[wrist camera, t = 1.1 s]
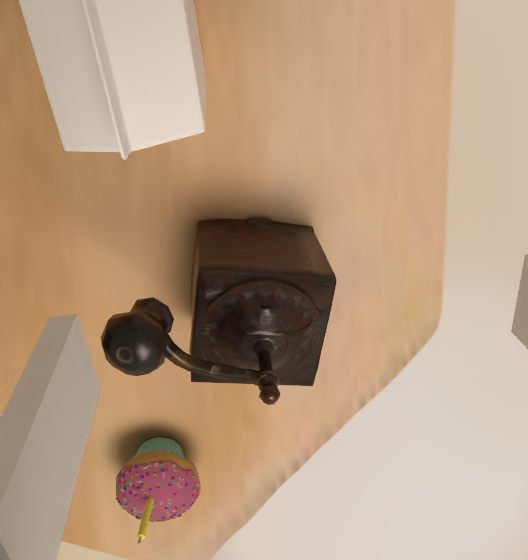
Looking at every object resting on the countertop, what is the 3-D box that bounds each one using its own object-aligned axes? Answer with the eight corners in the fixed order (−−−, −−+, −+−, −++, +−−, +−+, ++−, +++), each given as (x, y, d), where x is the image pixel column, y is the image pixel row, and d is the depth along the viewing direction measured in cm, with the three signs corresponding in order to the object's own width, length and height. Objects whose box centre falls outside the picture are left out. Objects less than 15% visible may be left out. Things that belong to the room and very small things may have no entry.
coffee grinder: (318, 219, 44) (380, 337, 28) (298, 325, 49) (342, 475, 34) (135, 204, 42) (93, 325, 26) (135, 317, 47) (100, 474, 31)
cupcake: (105, 443, 54) (81, 549, 44) (174, 411, 53) (166, 512, 42) (150, 489, 58) (138, 596, 48) (215, 460, 57) (217, 563, 46)
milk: (191, -15, 35) (177, -45, 16) (206, 78, 38) (210, 150, 18) (103, -4, 35) (-23, -20, 15) (124, 89, 38) (42, 174, 18)
